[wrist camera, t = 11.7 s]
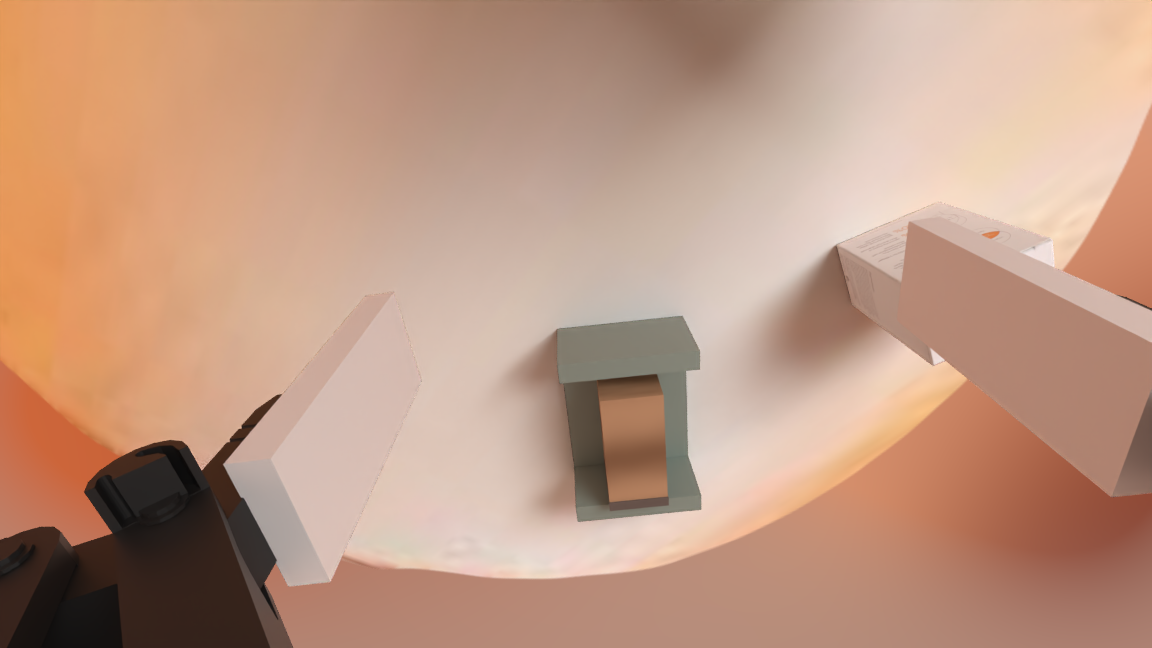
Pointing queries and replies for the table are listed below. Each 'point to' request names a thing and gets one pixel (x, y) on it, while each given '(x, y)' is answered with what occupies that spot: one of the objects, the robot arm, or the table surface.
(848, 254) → the small box
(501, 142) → the table surface
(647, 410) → the rail end
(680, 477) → the bracket
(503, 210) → the table surface
